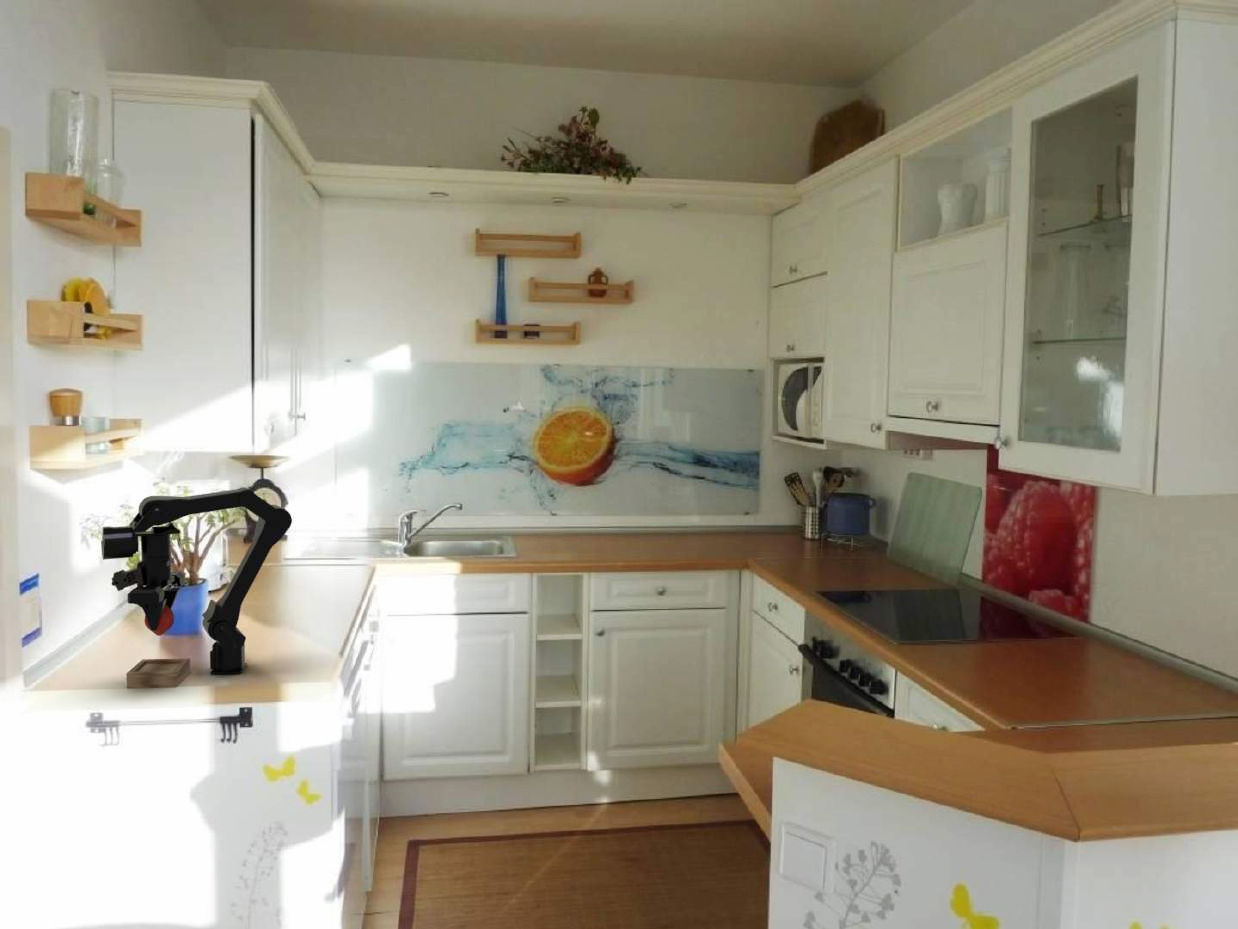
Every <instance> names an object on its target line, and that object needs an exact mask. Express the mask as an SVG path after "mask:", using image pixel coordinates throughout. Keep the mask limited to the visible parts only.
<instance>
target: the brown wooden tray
mask: <svg viewBox="0 0 1238 929" xmlns="http://www.w3.org/2000/svg"><path fill="white" fill-rule="evenodd" d="M190 673H191V658H146V659H145V658H143V659H141V660H139V662H137V664H135V665H134V666H133V667H132V668H131V669H130V670H128V671H127V672H126V688H127V689H135V688H137V689H141V688H142V689H143V688H177V687H178V686H179V685H180V684H181V683H182V682H183V681H184V680H185V679H186V678H187V676H189V674H190Z"/></svg>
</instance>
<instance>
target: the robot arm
mask: <svg viewBox="0 0 1238 929" xmlns="http://www.w3.org/2000/svg"><path fill="white" fill-rule="evenodd" d="M243 507H244V508H245V509H247V510H248V511H250V512H251V513H252V514H253V515H255V516H256V517H258V518H257V522H256V525H255V529H254V536H253V540H252V541H251V543H250V544H249V546H248V548H247V551H246V553H245V555H244V556H243V558H242V560H241V562H240V564H239V565H238V568H236V569H237V570H236V571H235V573H234V575H233V577H232V578H231V580H230V582H229V585H228V586H227V588H226V590H225V592H224V594H223V595H222V596H221V597H220V598H218V600H217V601H215V600H213V599H210V600H209V602H208V604H207V608H206V610H205V611H204V612H203V613H202V614H201V616H202V618H203V619H202V627H203V629H204V631H205V632H206V634H207V635H208V636H209V637H210V638H211V639H212V640H213V641H215V642H214V643H213V644H212V646H211V647H212V648H211V650H210V652H209V660H210V661H209V669H210V670H211V671H210V675H229V674H230V675H233V674H235V675H237V674H242V673H243V671H244V670H245V668H246V667H247V666H248V663H246V656H245V655H246V651H245V649H246V645H245V644H246V639H247V637H246V636H245V634H243V632H242V631H241V630H240V629H239V628H238V627H237V625H238V622H239V620H240V619H239V618H240V613H241V609H242V604H243V603H244V600H245V598H246V596H247V595H248V593H249V591H250V589H251V587H252V585H253V584H254V582H255V579H256V578H257V575H258V574H259V572H260V570H261V568H262V566H263V565H264V564H265V563H264V562H265V561H266V558H267V556H268V555H269V554H270V551H271V550H272V548H273V547H274V546H275V545H276V544H277V543H278V542H279V541H280V540H281V539H282V538H283V537H284V536H285V534H286V533H287V532H288V531H289V529H290V528H291V526H292V524H293V518H292V516H291V513H290V512H289V510H287V509H285V508H283V507H282V506H279V505H277V504H270V503H269V502H267V501H266V500H264V499H263V498H261V497H260V496H259V495H257V494H256V493H255V492H254V491H253V490H252V489H250V488H247V487H242V486H241V487H239V488H237V489H236V488H235V489H230V490H223V491H217V492H215V491H214V492H210V493H202V494H197V495H196V494H195V495H194V494H193V495H189V496H188V495H187V496H172V495H149V496H147V497H145V498H143V499H142V501H141V502H140V503H139V505H138V512H137V514H136V515H135V517H134V518H133V519H132V520H131V521H130V523H129V524H128V525H126V526H125V525H123V526H103V527H102V535H101V541H100V545H101V546H100V547H101V557H102V560H104V561H106V560H114V559H115V560H116V559H117V560H118V559H128V558H133V557H134V555H136V554H137V553H138V552H139V537H140V549H141V551H140V552H141V554H140V555H141V560H140V561H138V562H137V565H136V567H134V568H132V569H127V570H124V569H121V570H119V571H116V572H115V571H114V572H113V577H112V578H111V579H110V580H111V585H112V586H113V587H115V588H116V591H117V592H120V591H123V590H124V589H126V588H128V587H131V586H134V585H136V587H134V588H132V589H131V591H129V592H128V594H127V595H126V596H127V604H129V605H130V604H131V605H132V604H134V605H137V606H138V607H139V608H141V609H142V611H143V613H144V616H145V615H146V618H147V621H148V624H149V626H150V629H151V630H157V628H158V625H159V622H160V619H161V616H162V612H163V609H164V606H165V605H167V606H168V607H169V608H170V609H171V610H172V608H173V607H174V604H175V602H176V600H177V598H178V595H179V593H180V592H181V587H182V586H184V585H185V584H186V583H185V580H186V578H185V575H184V574H183V573H182V572H181V571H172V564H173V563H175V557H172V555H171V554H172V553H171V552H172V551H171V550H172V549H171V546H172V545H171V535H176V534H177V535H178V534H180V533H181V530H180V529H178V527H176V526H175V525H174V523H173V522H174V521H177V520H181V519H182V518H184V517H187V516H192V515H198V514H203V513H209V512H216V511H222V510H229V509H236V508H243ZM165 524H166V525H165ZM149 529H150V530H149ZM175 585H177V586H178V587H175ZM151 630H150V631H151Z"/></svg>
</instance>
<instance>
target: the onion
mask: <svg viewBox="0 0 1238 929" xmlns="http://www.w3.org/2000/svg"><path fill="white" fill-rule="evenodd" d="M174 622H175V614H174V612H173V610H172V609H170V608H169V607H168V606H167V605H165V606H164V609H163V612H162V616H161V619H160V622H159V625H158V628H157V630H151V629H150V626H149V624H148V621H147V618H146V615H145V614H144V625H145V626H146V628H147V629H148V630H149V631H150V632H152V633H153V634H154V635H155V636H159V637H160V636H162V635H164V634H166V632H167V631H169V630H170V629H171V628H172V627H173V625H174Z"/></svg>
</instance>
